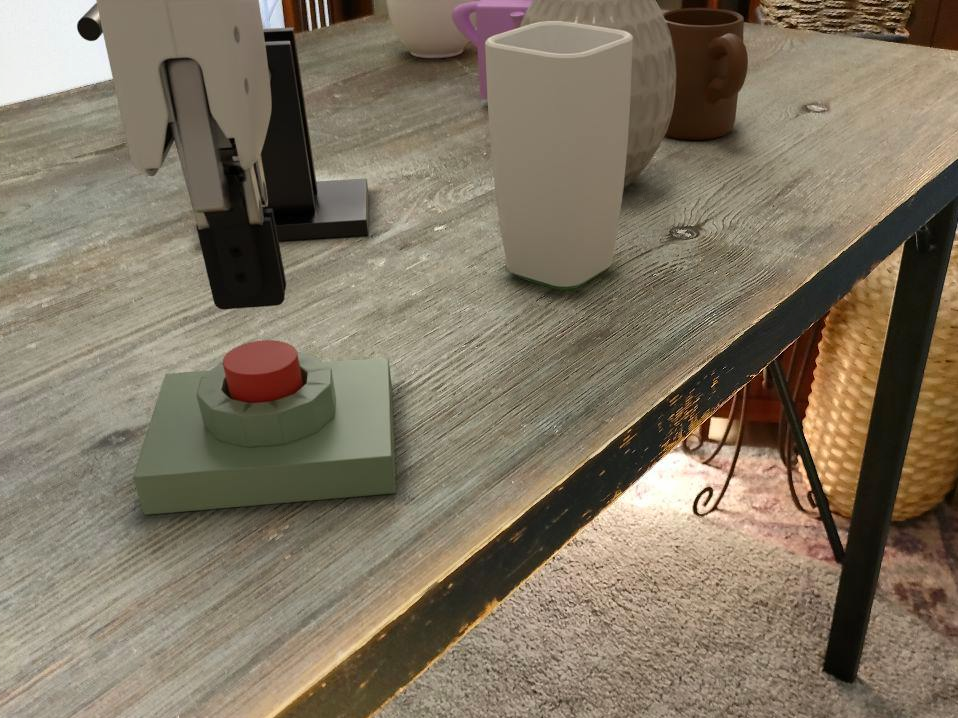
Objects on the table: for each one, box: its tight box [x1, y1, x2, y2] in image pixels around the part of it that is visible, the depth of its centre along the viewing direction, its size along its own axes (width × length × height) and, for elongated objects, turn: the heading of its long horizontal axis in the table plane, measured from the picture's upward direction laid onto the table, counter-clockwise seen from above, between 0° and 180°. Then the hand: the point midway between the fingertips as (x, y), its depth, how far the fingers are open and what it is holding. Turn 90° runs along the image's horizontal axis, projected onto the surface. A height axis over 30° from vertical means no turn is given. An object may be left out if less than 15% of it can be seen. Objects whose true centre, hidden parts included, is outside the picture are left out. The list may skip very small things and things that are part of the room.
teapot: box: [452, 0, 533, 99], centre depth 101 cm, size 15×13×11 cm
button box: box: [132, 351, 397, 516], centre depth 53 cm, size 12×10×4 cm
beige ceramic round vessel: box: [385, 0, 481, 59], centre depth 117 cm, size 11×11×9 cm
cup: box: [485, 21, 633, 291], centre depth 66 cm, size 7×7×15 cm
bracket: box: [261, 27, 369, 242], centre depth 76 cm, size 12×9×13 cm
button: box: [222, 339, 303, 403], centre depth 52 cm, size 4×4×2 cm
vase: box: [519, 0, 677, 190], centre depth 80 cm, size 13×13×17 cm
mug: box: [662, 7, 749, 141], centre depth 91 cm, size 12×8×9 cm, turn 18°
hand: (252, 299), depth 49 cm, fingers closed
